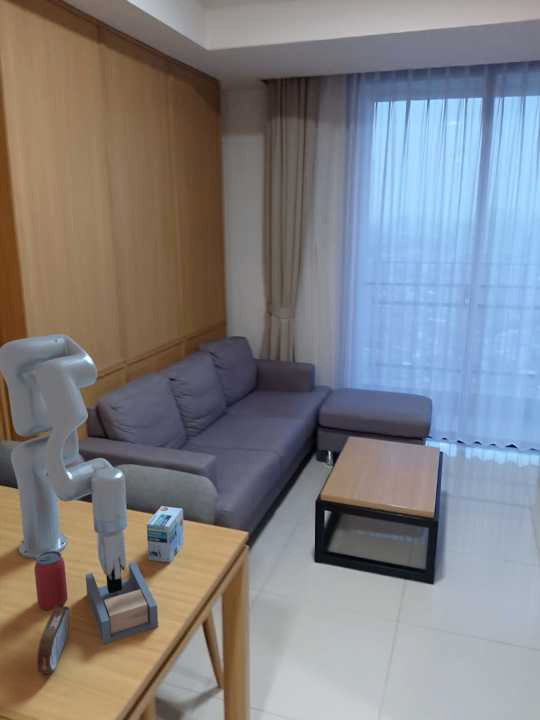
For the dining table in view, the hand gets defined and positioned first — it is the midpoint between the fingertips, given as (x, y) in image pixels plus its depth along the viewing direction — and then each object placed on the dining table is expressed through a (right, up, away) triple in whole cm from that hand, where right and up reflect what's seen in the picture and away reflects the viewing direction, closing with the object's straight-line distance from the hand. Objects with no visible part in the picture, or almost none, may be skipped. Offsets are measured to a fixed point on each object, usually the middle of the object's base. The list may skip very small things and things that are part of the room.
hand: (114, 589), depth 135 cm
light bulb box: (+9, +2, +20) cm, 22 cm away
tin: (-7, -6, -18) cm, 21 cm away
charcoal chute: (+3, -3, -4) cm, 6 cm away
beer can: (-14, -2, -2) cm, 15 cm away
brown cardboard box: (+5, -3, -9) cm, 11 cm away
